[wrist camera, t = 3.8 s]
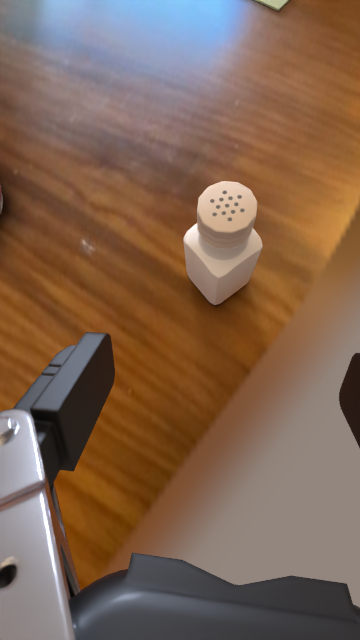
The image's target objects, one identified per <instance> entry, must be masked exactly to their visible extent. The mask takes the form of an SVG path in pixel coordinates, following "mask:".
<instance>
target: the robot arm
mask: <svg viewBox="0 0 360 640" xmlns="http://www.w3.org/2000/svg"><path fill="white" fill-rule="evenodd" d="M114 376H115V368H114V359H113V351H112V343H111V337H110V335H109V334H107V333H93V332H86V333H85V334H84V335H83V337H82V338H81V339H80V341H79V342H78V344H77V345H76V346H74V345H70V346H68V347H67V348H65V349H64V350H62V351H60V352H59V353H57V354H56V356H55V357H54V358H53V359H52V361H51V362H50V363H49V366H47V367H46V368H45V369H44V371H43V372H42V375H40V376H39V377H38V378H37V379H36V381H35V382H34V383H33V384H32V386H31V387H30V388H29V389H28V391H27V392H26V393H25V394H24V396H23V397H22V398H21V399H20V400H19V402H18V403H17V404H16V405H15V407H14V408H13V409H10V410H4V411H1V412H0V640H360V608H359V607H357V606H355V605H353V603H352V600H351V596H350V593H349V590H348V586H347V584H344V583H338V582H331V581H324V580H317V579H310V578H303V577H296V576H287V577H282V578H277V579H272V580H266V581H261V582H255V583H250V584H245V585H234V584H231V583H229V582H227V581H225V580H223V579H221V578H219V577H217V576H215V575H212V574H210V573H208V572H206V571H204V570H202V569H200V568H198V567H196V566H194V565H192V564H189V563H187V562H185V561H183V560H178V559H171V558H165V557H158V556H151V555H144V554H137V553H132V555H131V560H130V565H129V569H126V570H121V571H118V572H115V573H112V574H109V575H106V576H104V577H102V578H100V579H98V580H96V581H94V582H93V583H91V584H90V585H88V586H87V587H85V588H84V589H82V590H80V586H79V582H78V578H77V574H76V571H75V567H74V563H73V560H72V556H71V553H70V549H69V545H68V540H67V536H66V532H65V527H64V523H63V519H62V514H61V510H60V506H59V501H58V497H57V493H56V489H55V485H54V480H55V478H56V476H57V474H58V472H59V470H67V471H74V469H75V467H76V465H77V463H78V460H79V458H80V456H81V454H82V452H83V449H84V447H85V445H86V443H87V441H88V439H89V436H90V434H91V432H92V430H93V428H94V425H95V423H96V421H97V419H98V417H99V414H100V412H101V410H102V408H103V406H104V403H105V401H106V399H107V397H108V395H109V393H110V390H111V388H112V386H113V382H114ZM339 401H340V407H341V409H342V412H343V414H344V416H345V418H346V420H347V422H348V424H349V426H350V428H351V431H352V433H353V435H354V437H355V439H356V441H357V443H358V445H359V447H360V353H356V354H354V356H353V357H352V359H351V362H350V364H349V367H348V370H347V373H346V375H345V378H344V381H343V383H342V386H341V389H340V393H339Z"/></svg>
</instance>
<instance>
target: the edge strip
mask: <svg viewBox="0 0 360 640" xmlns="http://www.w3.org/2000/svg"><path fill="white" fill-rule="evenodd" d="M255 1H257V2H259V3H261V4H263V5H266V6H268V7H270V8H272V9H274V10H276V11H279V10H280V9H281V8H282V7H283V6H284V5H285V4H286V3H288V2H289V1H290V0H255Z"/></svg>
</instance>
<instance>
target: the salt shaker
mask: <svg viewBox="0 0 360 640" xmlns="http://www.w3.org/2000/svg"><path fill="white" fill-rule="evenodd" d="M256 212H257V201H256V199H255V197H254V195H253V194H252V192H251V190H250V189H248V188H247V187H245V186H243V185H241V184H240V183H238V182H225V181H222V182H219V183H217V184H214V185H212V186H209V187H208V188H207V189H206V190H205V191H204V193H203V194H202V195H201V196H200V197H199V201H198V208H197V223H196V224H195V225H194V226H193V227H192V228H191V229H189V230H188V231H187V233H186V235H185V237H184V239H183V241H184V250H185V259H186V268H187V274H188V277H189V278H190V279H191V281H192V282H193V283H194V284H195V285H196V287H197V288H198V289H199V290H200V291H201V293H202V294H203V295H204V296H205V297H206V299H207V300H208V301H209V302H210V303H212V304H214V305H217V304H220V303H222V302H223V301H224V300H226V299H227V298H228V297H230V296H231V295H233V294H234V293H235V292H237V291H238V290H239V289H241V288H242V287H243V286H245V285H246V284H247V283H248V282H249V280H250V278H251V275H252V273H253V270H254V268H255V265H256V262H257V260H258V257H259V255H260V252H261V250H262V247H263V245H262V241H261V238H260V237H259V235H258V234H257V233H256V231H255V230H254V229H253V225H254V222H255V218H256Z"/></svg>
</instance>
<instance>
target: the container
mask: <svg viewBox="0 0 360 640" xmlns="http://www.w3.org/2000/svg"><path fill="white" fill-rule="evenodd" d="M2 208H3V197H2V193H1V186H0V215H1V212H2Z"/></svg>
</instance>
